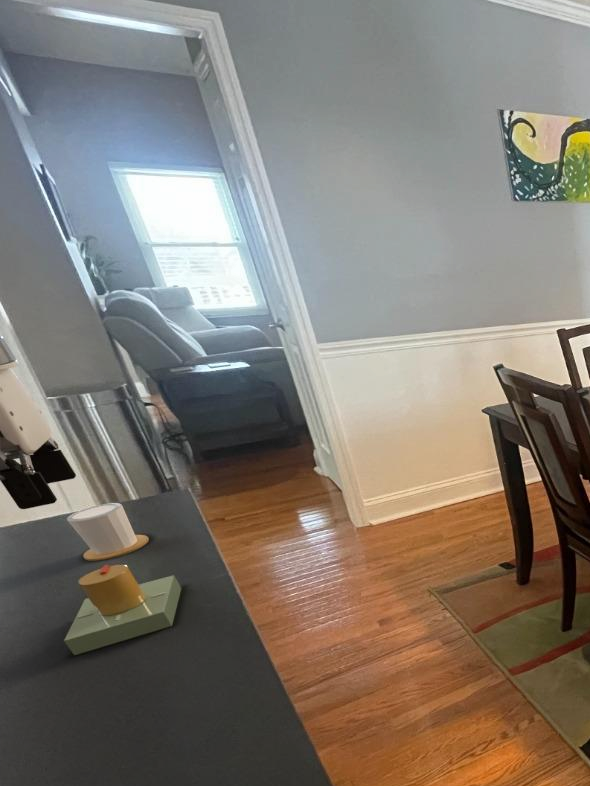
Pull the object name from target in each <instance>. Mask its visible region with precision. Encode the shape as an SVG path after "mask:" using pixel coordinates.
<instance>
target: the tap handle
mask: <svg viewBox="0 0 590 786" xmlns="http://www.w3.org/2000/svg"><path fill="white" fill-rule="evenodd" d="M77 583H78V585H79V586H80V588H81V589H82V591H83V592H84V594H85V595H86V597H87V598H89V599H90V601H91V602H92V604H93V605H94V607H95V608H96V610H97V611H98V613H99V614H100V615H114V614H118V613H122V612H125V611H127V610H130V609H132V608H134V607H136V606H138V605H140V604H141V603H142V602H144V601H145V599H146V596H145V594H144V592H143V591H142V589H141V587H140V586H139V584H140V583H139V582H138V581H137V579H136V578H135V576H134V574H133V572H132V571H131V569H130V568H129V566H128V565H126V564H115V565H110V564H104V565H103V566H102V568H99V569H95V570H94V571H91V572H89V573H87V574H85V575H83V576H82V577H81V578H80V579H78V582H77Z"/></svg>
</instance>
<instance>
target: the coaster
mask: <svg viewBox="0 0 590 786" xmlns="http://www.w3.org/2000/svg"><path fill="white" fill-rule="evenodd" d="M135 536H136V538H137V542H136V543H135V544H134V545H132V546H130V547H128V548H126V549H123V550H120V551H118V552H114V553H109V554H102V555H99V554H95V553H94V552H93V551H92V550H91V548H89V549H88V550H86V551H85V552H84V553H83V555H82V556H83V559H84V560H86V561H89V562H97V561H105V560H110V559H113V558H114V559H115V558H117V557H120V556H125V555H127V554H129V553H132V552H135V551H137V550H139V549H140V548H142V547H144V546H145V545H147V544H148V542H149V537H148V536H147V535H144V534H135Z"/></svg>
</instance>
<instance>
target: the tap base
mask: <svg viewBox="0 0 590 786" xmlns="http://www.w3.org/2000/svg"><path fill="white" fill-rule="evenodd" d="M138 584H139V586H140V587H141V589H142V591H143V592H144V594H145V596H146V599H145V601H144V602H142V603H141V604H140V605H138V606H136V607H134V608H132V609H130V610H127V611H125V612H122V613H118V614H114V615H100V614H99V613H98V611H97V610H96V608H95V607H94V605H93V604H92V602H91V601H90V599H89V598H88V597H87V598H85V599H84V600H83V602H82V604H81V606H80V607H79V610H78V612H77V613H76V616H75V618H74V620H73V622H72V624H71V626H70V628H69V630H68V632H67V633H66V635H65V637H64V639H63V642H64V643H65V645H66V646H67V648H68V649H69V650H70V651H71V653H72V654H73V656H78V655H81V654H84V653H87V652H90V651H94V650H97V649H100V648H104V647H107V646H112V645H114V644H117V643H121V642H124V641H127V640H131V639H133V638H136V637H137V638H138V637H140V636H143V635H147V634H150V633H153V632H158V631H160V630H164V629H167V628H170V627H172V626H173V624H174V620H175V616H176V612H177V608H178V605H179V601H180V600H179V599H180V596H181V592H182V587H181V585H180V583H179V582H178V579H177V578H176V576H175V575H173V574H172V575H169V576H166V577H162V578H158V579H155V580H150V581H146V582H143V583H138Z"/></svg>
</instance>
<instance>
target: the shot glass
mask: <svg viewBox="0 0 590 786" xmlns="http://www.w3.org/2000/svg"><path fill="white" fill-rule="evenodd" d="M66 521H67V522H68V523H69V524H70V526H72V528H73V530H74V531H76V533H77V535H79V537H81V539H82V540H83V541H84V542H85V544H86V545H87V546H88V547H89V549H91V550H92V551H93V552H94V553H95V554H99V555H102V554H109V553H114V552H118V551H120V550H123V549H126V548H128V547H130V546H132V545H134V544H135V543H136V542H137V538H136V536H135V535H136V534H135V531H134V530H133V527H132V525H131V523H130V520H129V518H128V516H127V513H126V511H125V509H124V507H123V504H121V503H119V502H111V503H103V504H98V505H94V506H90V507H87V508H83V509H81V510H78V511H76V512H74V513H72V514H70V515H69V516H67V518H66Z"/></svg>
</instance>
